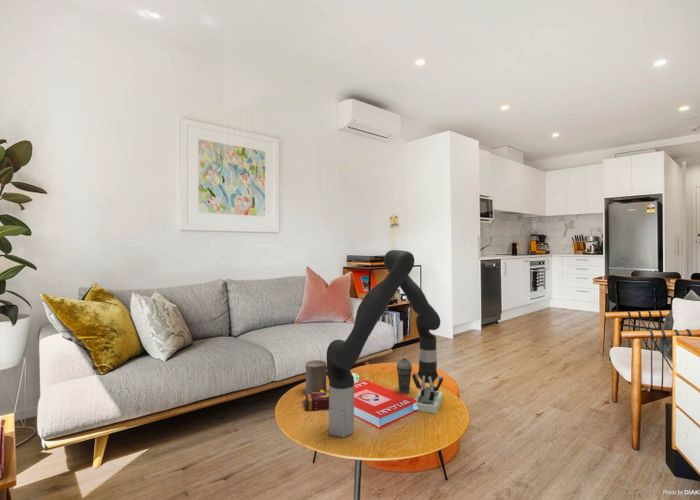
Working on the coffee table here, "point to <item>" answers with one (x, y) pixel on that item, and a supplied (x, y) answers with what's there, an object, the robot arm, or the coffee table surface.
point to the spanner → (427, 396)
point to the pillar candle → (316, 375)
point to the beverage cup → (404, 374)
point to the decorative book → (317, 400)
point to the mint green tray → (433, 404)
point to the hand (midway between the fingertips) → (427, 398)
